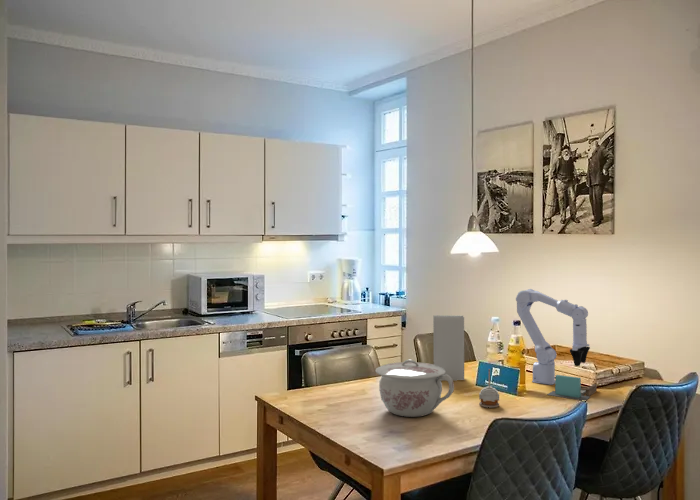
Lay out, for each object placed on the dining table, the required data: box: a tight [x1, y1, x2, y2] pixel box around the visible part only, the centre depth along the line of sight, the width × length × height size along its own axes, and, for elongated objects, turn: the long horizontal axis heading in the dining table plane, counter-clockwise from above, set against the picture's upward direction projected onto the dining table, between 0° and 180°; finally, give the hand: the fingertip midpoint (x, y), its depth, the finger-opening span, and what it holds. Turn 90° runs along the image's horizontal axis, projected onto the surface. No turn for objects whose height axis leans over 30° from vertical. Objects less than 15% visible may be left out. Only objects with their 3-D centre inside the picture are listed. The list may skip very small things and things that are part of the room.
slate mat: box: [546, 390, 591, 401], centre depth 265 cm, size 16×7×1 cm, turn 53°
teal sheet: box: [554, 374, 582, 398], centre depth 265 cm, size 10×2×8 cm, turn 53°
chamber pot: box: [375, 359, 455, 418], centre depth 244 cm, size 28×28×21 cm
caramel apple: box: [478, 368, 500, 409], centre depth 252 cm, size 8×8×15 cm
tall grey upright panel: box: [432, 315, 465, 381], centre depth 297 cm, size 14×6×30 cm, turn 84°
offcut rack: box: [581, 383, 598, 397], centre depth 273 cm, size 14×11×3 cm
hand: (579, 364), depth 280 cm, fingers open, 7 cm apart
